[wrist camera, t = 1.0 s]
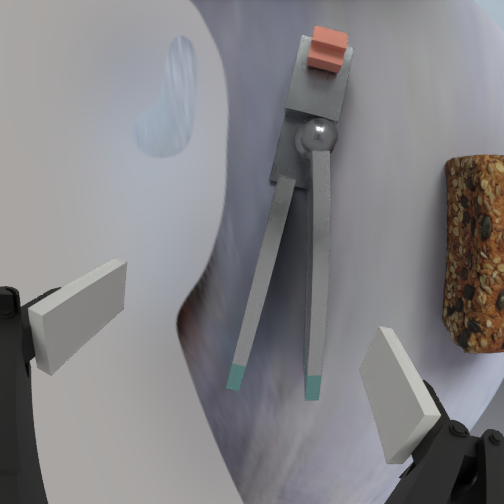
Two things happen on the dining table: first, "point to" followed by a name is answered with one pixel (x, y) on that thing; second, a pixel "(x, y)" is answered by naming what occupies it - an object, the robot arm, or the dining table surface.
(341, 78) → the base
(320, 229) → the jaw
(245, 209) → the dining table surface
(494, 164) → the bread
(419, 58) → the dining table surface
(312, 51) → the tab
